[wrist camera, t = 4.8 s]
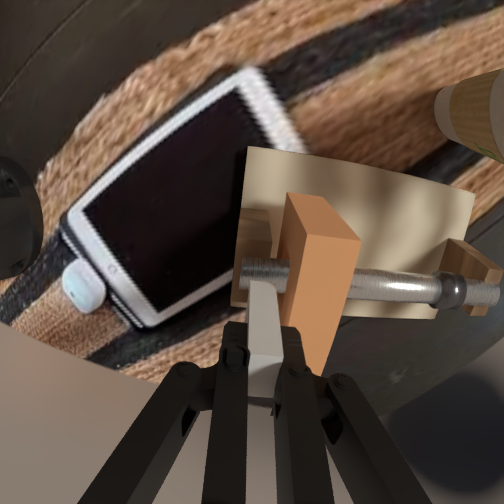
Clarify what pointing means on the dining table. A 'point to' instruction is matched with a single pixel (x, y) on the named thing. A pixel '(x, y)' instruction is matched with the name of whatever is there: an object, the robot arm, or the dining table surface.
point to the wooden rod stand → (363, 222)
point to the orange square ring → (315, 272)
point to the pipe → (386, 285)
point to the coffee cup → (474, 113)
